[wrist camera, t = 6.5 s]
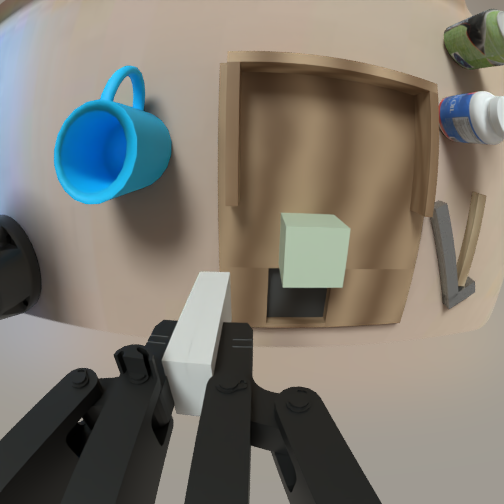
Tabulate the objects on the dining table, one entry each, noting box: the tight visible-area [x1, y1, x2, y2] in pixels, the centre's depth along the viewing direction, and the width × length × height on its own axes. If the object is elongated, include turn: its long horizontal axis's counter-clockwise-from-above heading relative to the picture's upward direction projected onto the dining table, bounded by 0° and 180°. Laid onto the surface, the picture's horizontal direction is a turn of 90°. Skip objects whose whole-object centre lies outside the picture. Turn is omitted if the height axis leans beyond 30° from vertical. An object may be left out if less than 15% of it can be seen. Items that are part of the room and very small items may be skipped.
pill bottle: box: [438, 91, 504, 145], centre depth 17 cm, size 6×5×10 cm
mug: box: [54, 66, 172, 204], centre depth 20 cm, size 12×8×8 cm
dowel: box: [457, 192, 486, 286], centre depth 26 cm, size 2×12×2 cm, turn 176°
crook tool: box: [430, 201, 475, 309], centre depth 27 cm, size 5×14×2 cm, turn 26°
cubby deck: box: [218, 51, 439, 328], centre depth 24 cm, size 21×26×4 cm
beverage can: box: [444, 9, 504, 70], centre depth 13 cm, size 6×7×12 cm
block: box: [279, 213, 350, 288], centre depth 23 cm, size 5×5×5 cm
